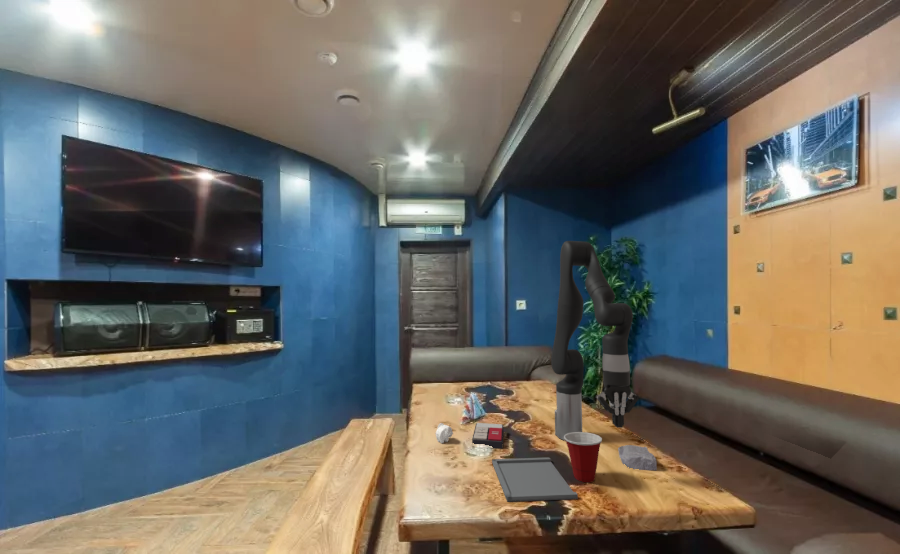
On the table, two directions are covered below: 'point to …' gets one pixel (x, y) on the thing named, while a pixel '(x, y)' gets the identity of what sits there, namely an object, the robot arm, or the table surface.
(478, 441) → the grey and red box
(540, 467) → the grey tray
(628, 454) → the stone block
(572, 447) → the plastic cup
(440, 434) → the elephant figurine
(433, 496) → the table surface
